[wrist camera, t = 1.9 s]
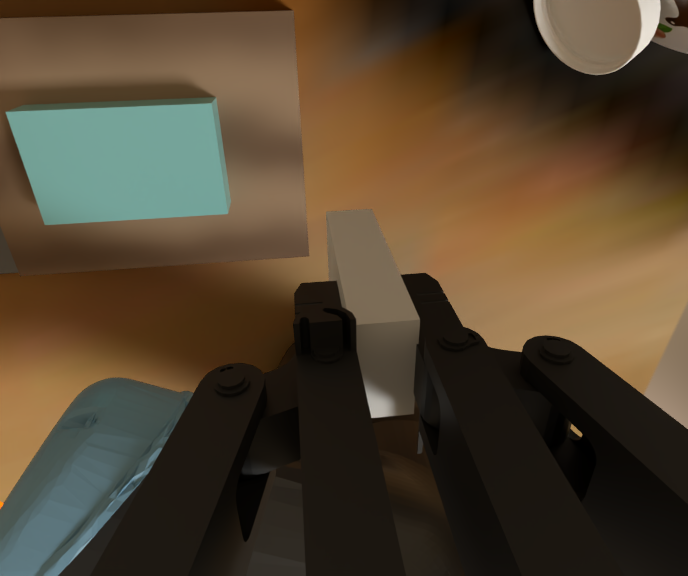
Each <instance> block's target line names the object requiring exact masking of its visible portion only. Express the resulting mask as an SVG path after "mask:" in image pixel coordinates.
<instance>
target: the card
mask: <svg viewBox="0 0 688 576" xmlns="http://www.w3.org/2000/svg"><path fill="white" fill-rule="evenodd" d="M6 115H7V118H8V121H9V124H10V127H11V130H12V132H13V135H14V138H15V141H16V144H17V147H18V150H19V152H20V155H21V158H22V161H23V164H24V167H25V170H26V173H27V175H28V178H29V181H30V184H31V187H32V190H33V193H34V196H35V198H36V201H37V204H38V207H39V210H40V213H41V216H42V218H43V221H44V224H45V225H56V224H72V223H89V222H105V221H122V220H138V219H155V218H171V217H188V216H204V215H221V214H228V212H229V208H230V204H231V198H230V191H229V184H228V177H227V170H226V163H225V156H224V149H223V142H222V135H221V128H220V121H219V114H218V107H217V100H216V97H205V98H180V99H156V100H131V101H106V102H82V103H57V104H33V105H22V106H19V107H17V108H14V109H12V110H9V111H7V112H6Z"/></svg>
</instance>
